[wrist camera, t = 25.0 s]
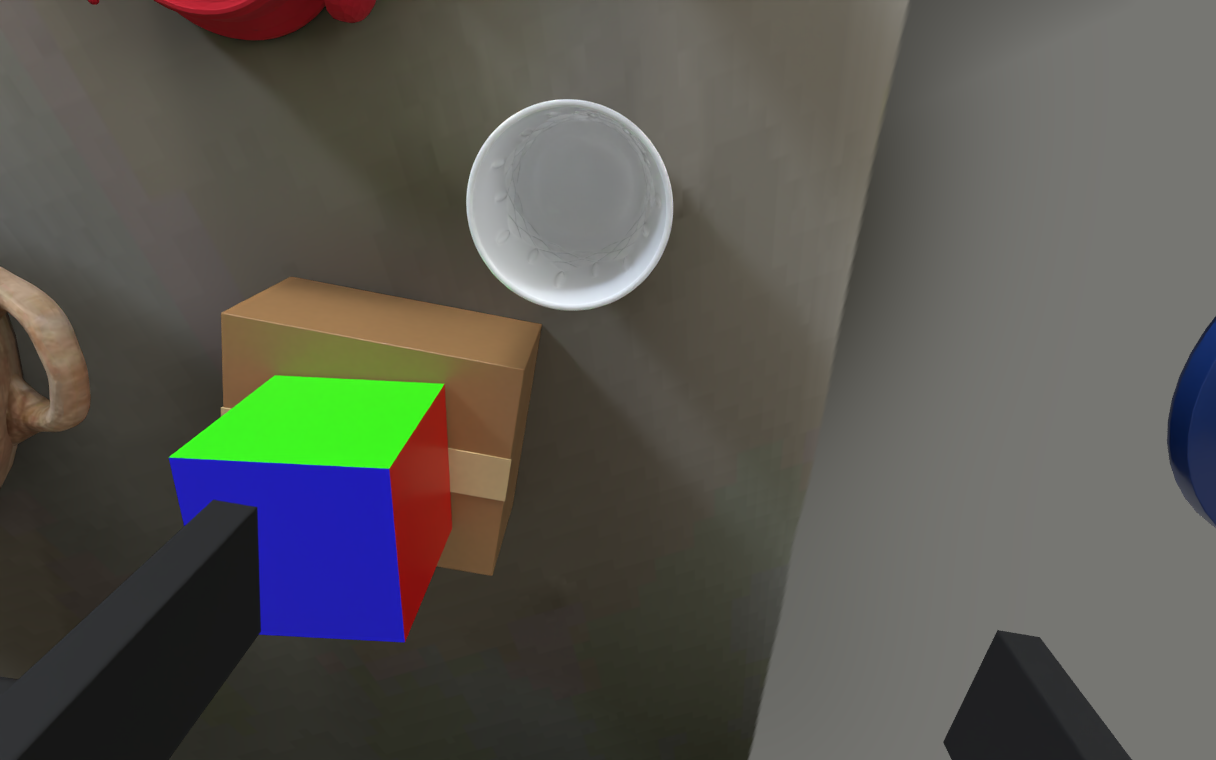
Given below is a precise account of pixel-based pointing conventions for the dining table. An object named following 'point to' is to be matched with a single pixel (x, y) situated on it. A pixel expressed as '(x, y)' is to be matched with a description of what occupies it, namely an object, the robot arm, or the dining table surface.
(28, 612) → the dining table surface
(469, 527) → the cardboard box
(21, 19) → the dining table surface
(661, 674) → the dining table surface
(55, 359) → the ceramic bowl
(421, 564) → the cube
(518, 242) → the white cup
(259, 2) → the alarm clock
